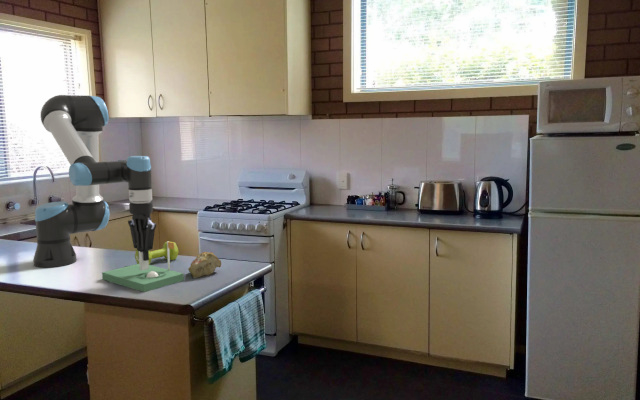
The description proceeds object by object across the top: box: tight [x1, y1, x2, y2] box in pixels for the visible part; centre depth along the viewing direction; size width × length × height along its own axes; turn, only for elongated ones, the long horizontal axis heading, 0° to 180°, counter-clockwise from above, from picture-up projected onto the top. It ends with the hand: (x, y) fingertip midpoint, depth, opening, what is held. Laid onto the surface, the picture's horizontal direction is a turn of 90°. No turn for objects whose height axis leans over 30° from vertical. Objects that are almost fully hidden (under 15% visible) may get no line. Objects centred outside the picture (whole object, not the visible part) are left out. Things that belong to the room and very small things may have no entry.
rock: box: [187, 251, 222, 279], centre depth 197 cm, size 12×9×10 cm
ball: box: [146, 271, 158, 278], centre depth 186 cm, size 4×4×4 cm
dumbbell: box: [134, 241, 179, 265], centre depth 213 cm, size 16×8×7 cm, turn 141°
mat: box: [101, 263, 185, 293], centre depth 189 cm, size 24×16×2 cm, turn 53°
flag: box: [166, 240, 175, 271], centre depth 191 cm, size 4×1×13 cm, turn 53°
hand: (144, 269), depth 188 cm, fingers closed
